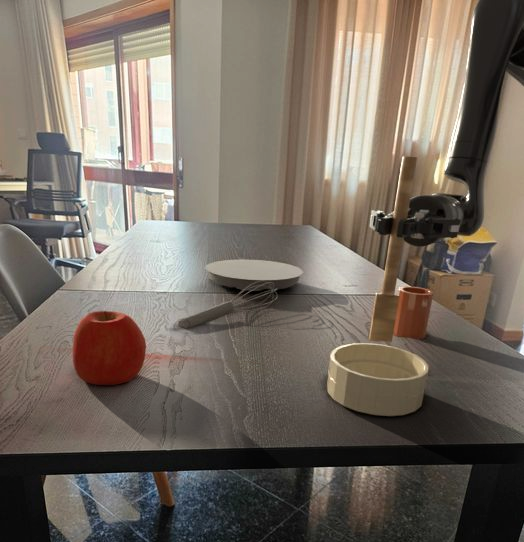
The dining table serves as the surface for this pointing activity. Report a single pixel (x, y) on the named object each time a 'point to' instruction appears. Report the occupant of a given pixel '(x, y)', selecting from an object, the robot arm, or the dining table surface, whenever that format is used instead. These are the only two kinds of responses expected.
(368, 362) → the mixing bowl
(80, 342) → the apple
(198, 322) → the kitchen whisk
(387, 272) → the wooden stick
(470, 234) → the robot arm
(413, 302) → the crock
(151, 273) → the dining table surface
